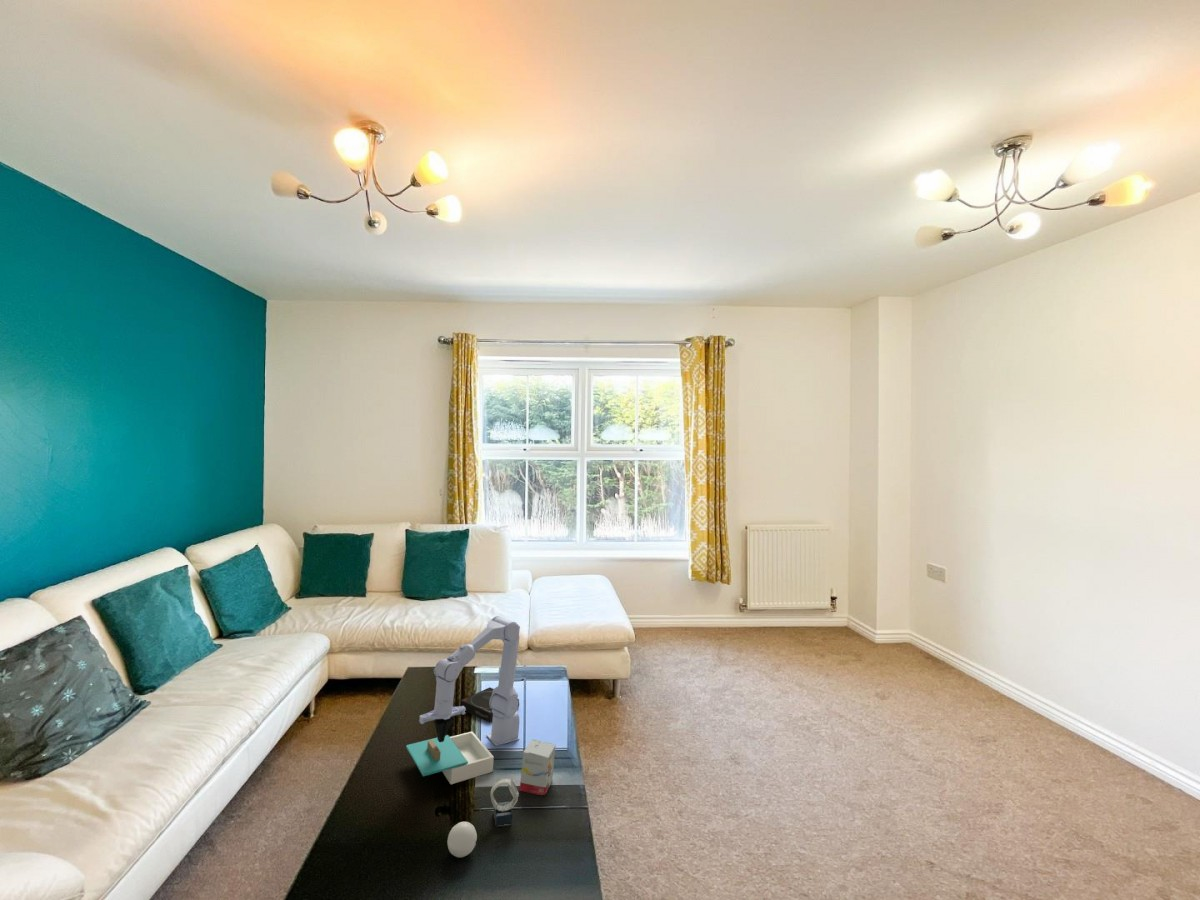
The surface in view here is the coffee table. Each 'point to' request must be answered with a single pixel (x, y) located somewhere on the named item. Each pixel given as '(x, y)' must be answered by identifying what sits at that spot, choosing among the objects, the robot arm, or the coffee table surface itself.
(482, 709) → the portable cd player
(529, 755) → the ink box
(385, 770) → the coffee table surface
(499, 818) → the watch
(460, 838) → the white egg
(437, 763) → the lid
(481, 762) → the mailer box
